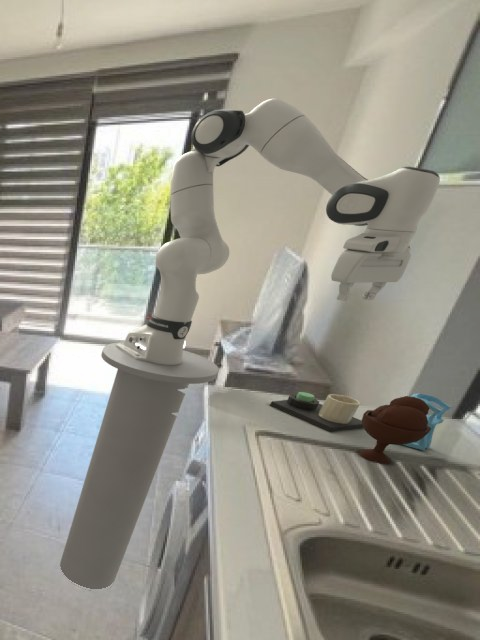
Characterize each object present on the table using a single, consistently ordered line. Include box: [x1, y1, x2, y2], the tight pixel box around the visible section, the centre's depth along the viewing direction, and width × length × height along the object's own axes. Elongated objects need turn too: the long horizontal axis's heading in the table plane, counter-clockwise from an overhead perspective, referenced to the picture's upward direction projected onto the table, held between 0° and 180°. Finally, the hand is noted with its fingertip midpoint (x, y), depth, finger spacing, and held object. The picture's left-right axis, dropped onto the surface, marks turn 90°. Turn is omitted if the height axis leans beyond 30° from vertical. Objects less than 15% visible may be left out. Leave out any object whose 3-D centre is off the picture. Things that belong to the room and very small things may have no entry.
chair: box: [402, 393, 453, 451], centre depth 115 cm, size 8×8×12 cm
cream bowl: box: [318, 393, 362, 424], centre depth 124 cm, size 6×6×6 cm
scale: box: [269, 393, 364, 433], centre depth 129 cm, size 16×13×3 cm
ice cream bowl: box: [358, 395, 432, 465], centre depth 106 cm, size 11×11×15 cm
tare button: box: [296, 391, 315, 402], centre depth 132 cm, size 4×4×2 cm
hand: (354, 299), depth 124 cm, fingers open, 8 cm apart
